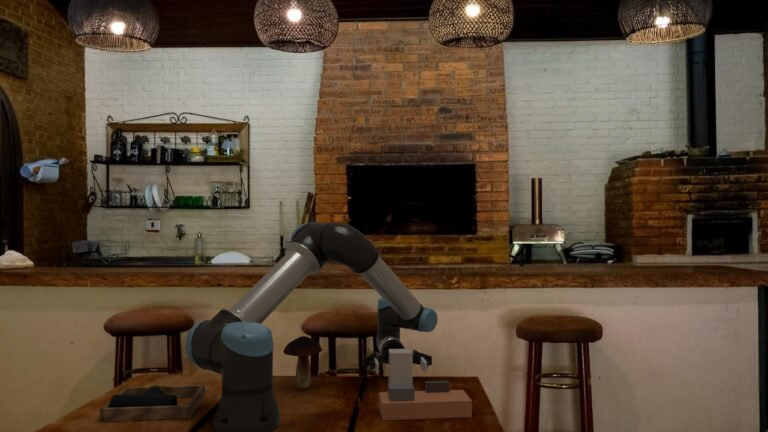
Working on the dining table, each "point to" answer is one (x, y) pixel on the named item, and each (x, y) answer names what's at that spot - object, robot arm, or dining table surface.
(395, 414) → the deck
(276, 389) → the dining table surface
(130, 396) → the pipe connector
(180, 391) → the frame
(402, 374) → the tall grey brick
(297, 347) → the decorative mushroom
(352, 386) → the dining table surface
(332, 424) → the dining table surface
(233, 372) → the robot arm
